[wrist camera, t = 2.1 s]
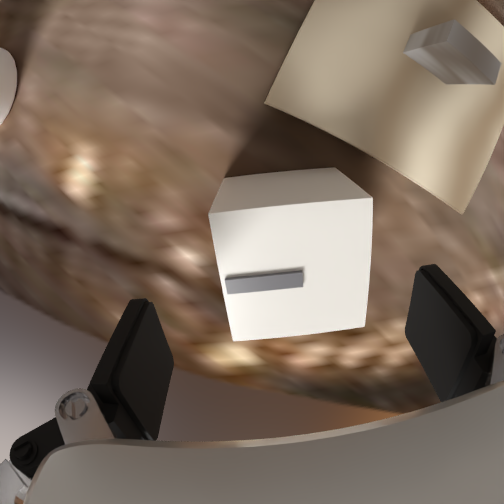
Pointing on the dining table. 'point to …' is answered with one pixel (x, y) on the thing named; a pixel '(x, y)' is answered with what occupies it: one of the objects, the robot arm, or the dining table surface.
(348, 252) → the white slotted cube
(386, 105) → the beige square plate
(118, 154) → the dining table surface
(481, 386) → the robot arm
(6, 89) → the white plastic bottle
